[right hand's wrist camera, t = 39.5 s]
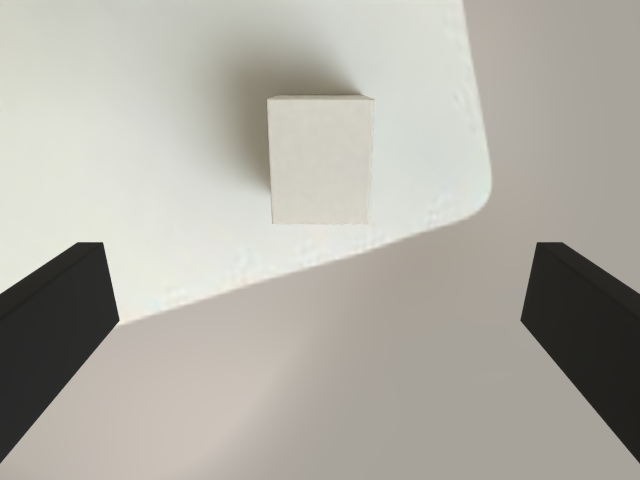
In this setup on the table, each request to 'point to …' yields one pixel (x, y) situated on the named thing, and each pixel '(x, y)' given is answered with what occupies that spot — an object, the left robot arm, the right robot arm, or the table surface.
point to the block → (320, 158)
